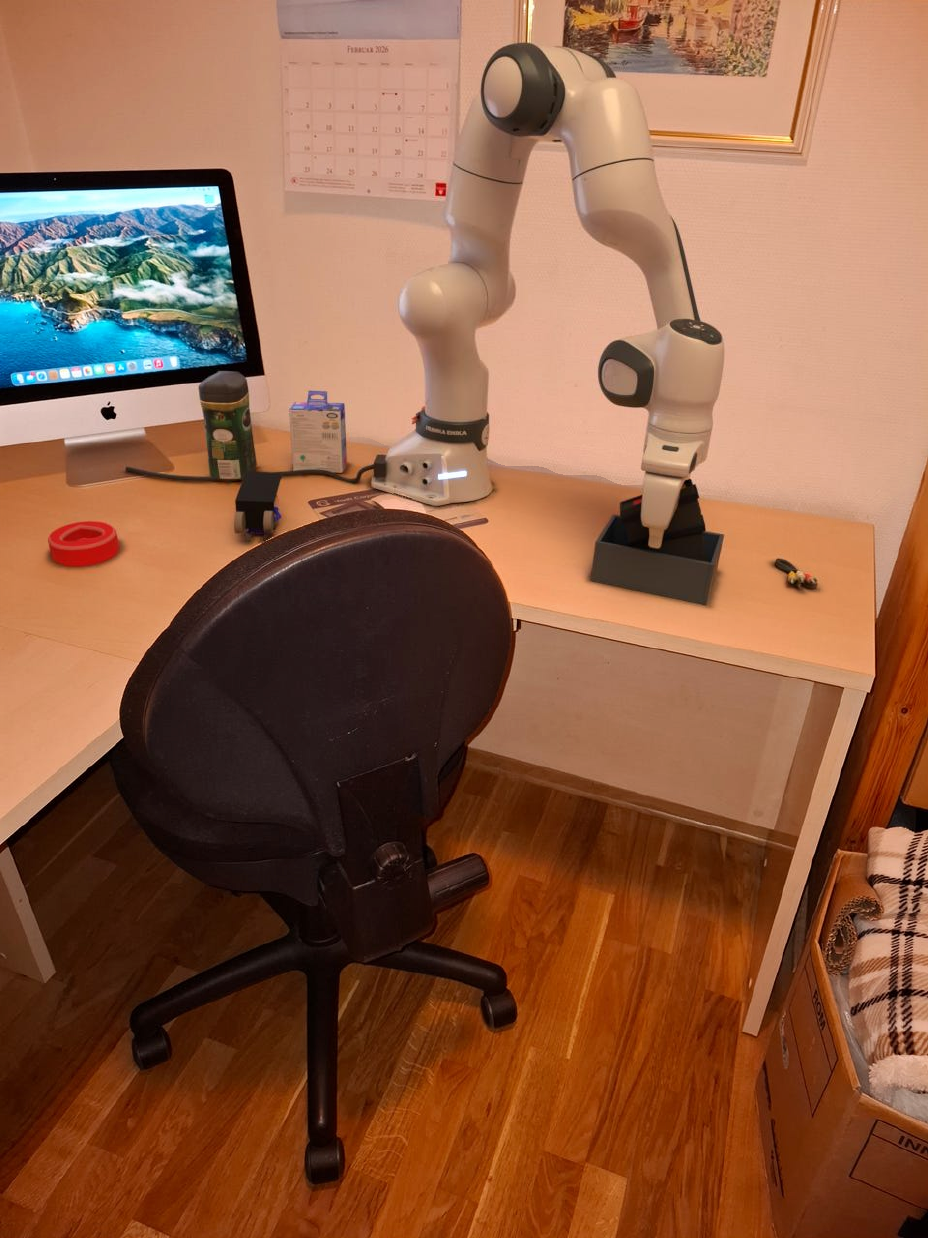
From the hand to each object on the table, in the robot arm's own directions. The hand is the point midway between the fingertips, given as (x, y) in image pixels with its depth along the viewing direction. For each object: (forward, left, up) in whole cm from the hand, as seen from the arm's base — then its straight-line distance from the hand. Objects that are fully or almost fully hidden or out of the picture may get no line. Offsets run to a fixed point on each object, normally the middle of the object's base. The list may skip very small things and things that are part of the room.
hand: (661, 533), depth 126 cm
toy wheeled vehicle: (-63, -11, -8) cm, 64 cm away
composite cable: (+20, +9, -8) cm, 23 cm away
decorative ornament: (-82, -30, -8) cm, 88 cm away
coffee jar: (-81, +7, -8) cm, 82 cm away
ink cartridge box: (-68, +17, -8) cm, 70 cm away
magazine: (0, 0, -7) cm, 7 cm away
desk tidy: (0, 0, -7) cm, 7 cm away
